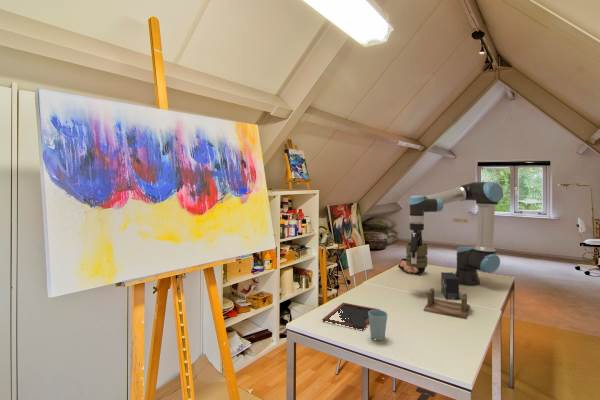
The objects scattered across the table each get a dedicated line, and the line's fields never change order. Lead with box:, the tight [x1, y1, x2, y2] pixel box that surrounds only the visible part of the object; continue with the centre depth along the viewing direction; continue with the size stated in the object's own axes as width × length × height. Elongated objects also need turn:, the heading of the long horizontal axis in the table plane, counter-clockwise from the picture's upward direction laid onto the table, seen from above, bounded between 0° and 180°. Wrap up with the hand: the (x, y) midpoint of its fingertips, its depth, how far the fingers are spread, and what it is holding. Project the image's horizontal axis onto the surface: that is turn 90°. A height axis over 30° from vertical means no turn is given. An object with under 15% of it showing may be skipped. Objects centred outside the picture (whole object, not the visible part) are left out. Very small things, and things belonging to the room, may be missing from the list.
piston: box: [405, 242, 428, 268], centre depth 185 cm, size 11×12×11 cm
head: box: [397, 258, 426, 276], centre depth 235 cm, size 12×13×20 cm
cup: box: [368, 309, 388, 341], centre depth 135 cm, size 8×8×10 cm
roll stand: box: [423, 287, 471, 320], centre depth 166 cm, size 18×19×8 cm
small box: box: [440, 272, 460, 301], centre depth 185 cm, size 13×7×12 cm, turn 168°
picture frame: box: [321, 302, 381, 331], centre depth 157 cm, size 20×2×25 cm
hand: (416, 261), depth 185 cm, fingers closed on piston, 11 cm apart
